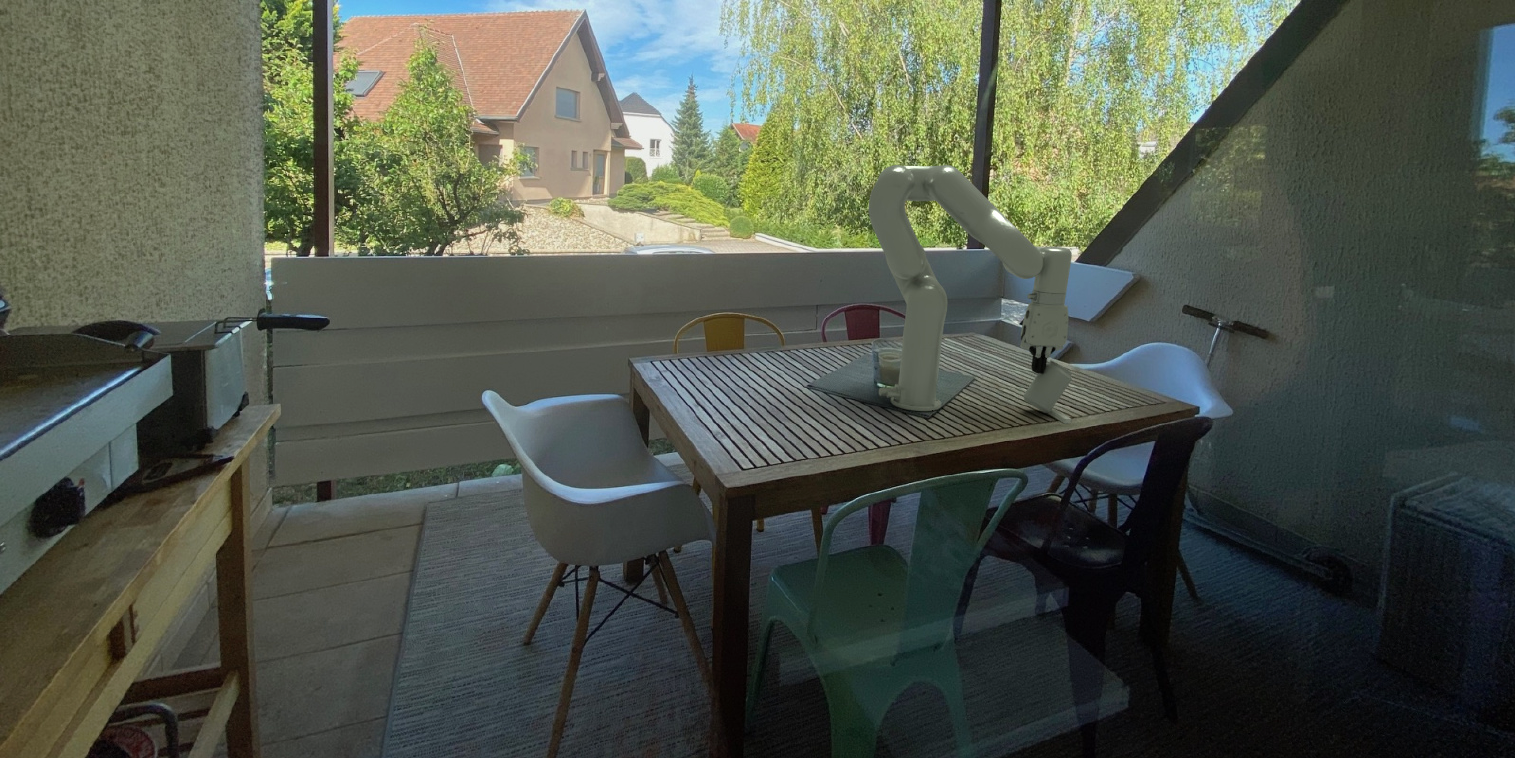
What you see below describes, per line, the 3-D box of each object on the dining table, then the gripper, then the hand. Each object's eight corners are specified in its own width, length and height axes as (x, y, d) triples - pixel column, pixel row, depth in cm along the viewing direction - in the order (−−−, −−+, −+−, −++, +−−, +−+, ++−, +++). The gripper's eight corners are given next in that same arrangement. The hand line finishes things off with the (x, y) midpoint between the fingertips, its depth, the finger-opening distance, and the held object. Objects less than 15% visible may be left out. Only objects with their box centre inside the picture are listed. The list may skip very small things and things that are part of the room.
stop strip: (1064, 423, 187) (1065, 418, 186) (1029, 401, 204) (1029, 397, 204) (1070, 423, 187) (1071, 418, 187) (1035, 401, 204) (1035, 397, 204)
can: (1050, 416, 189) (1079, 375, 187) (1024, 400, 190) (1052, 359, 188) (1044, 412, 197) (1071, 373, 195) (1018, 397, 197) (1045, 357, 195)
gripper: (1026, 300, 182) (1016, 376, 186) (1085, 302, 184) (1073, 376, 188) (1012, 295, 189) (1002, 368, 193) (1069, 297, 191) (1058, 368, 196)
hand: (1037, 372), depth 191 cm, fingers closed
